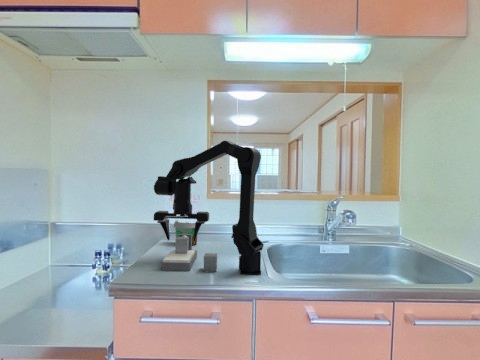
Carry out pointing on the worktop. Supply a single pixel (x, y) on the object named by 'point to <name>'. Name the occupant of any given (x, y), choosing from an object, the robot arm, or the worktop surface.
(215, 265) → the block
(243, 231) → the robot arm
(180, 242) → the block
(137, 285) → the worktop surface
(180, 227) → the food container
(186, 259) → the scale
